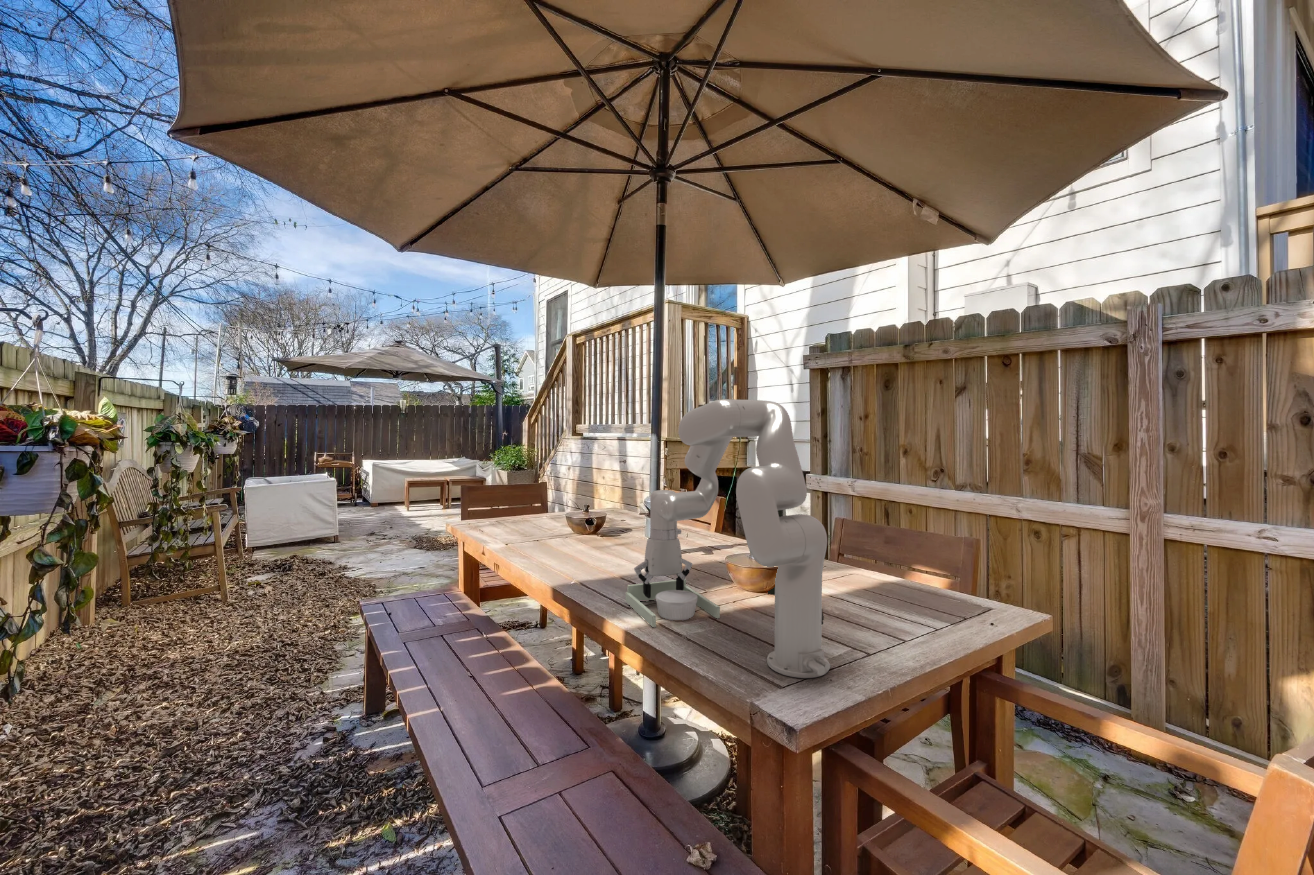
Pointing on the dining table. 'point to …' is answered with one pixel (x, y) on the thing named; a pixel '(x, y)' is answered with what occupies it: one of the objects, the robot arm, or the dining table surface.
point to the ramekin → (676, 604)
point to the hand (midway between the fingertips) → (663, 594)
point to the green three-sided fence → (636, 591)
